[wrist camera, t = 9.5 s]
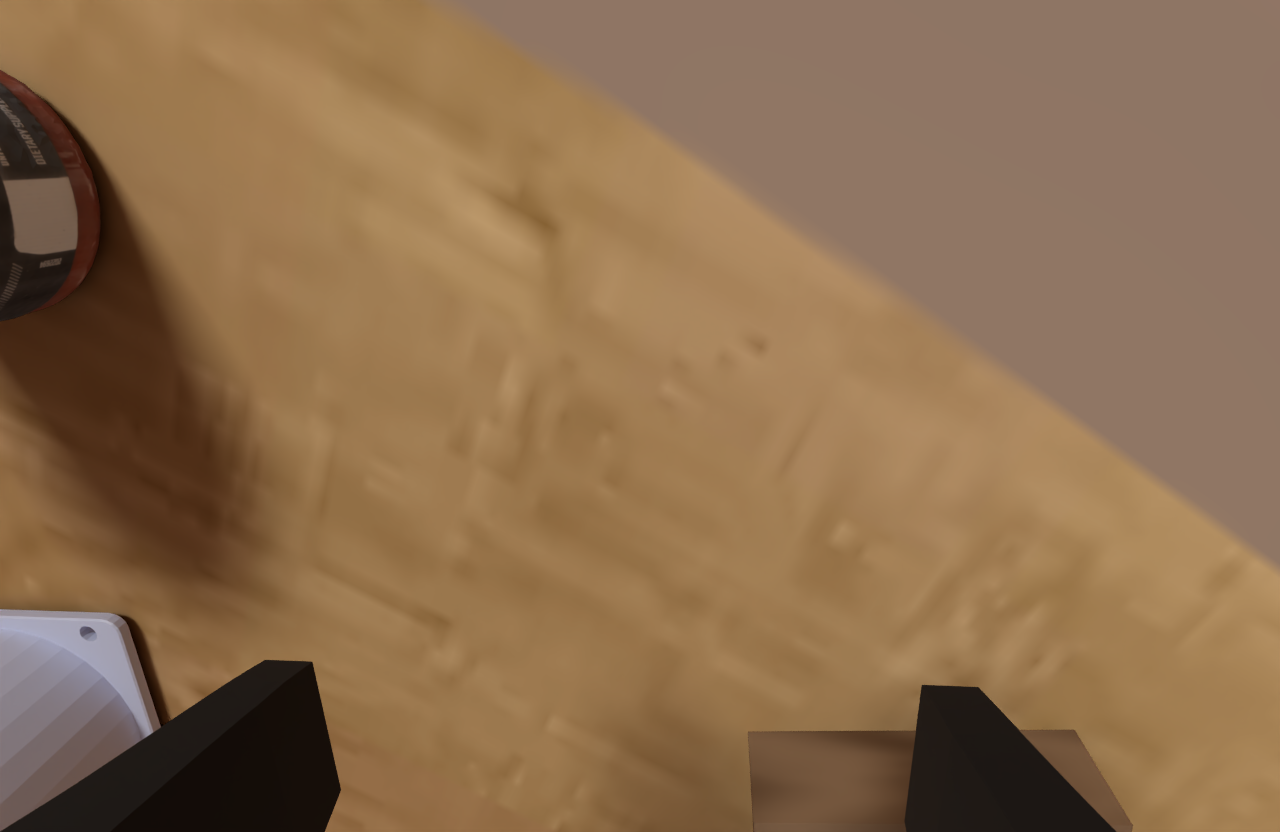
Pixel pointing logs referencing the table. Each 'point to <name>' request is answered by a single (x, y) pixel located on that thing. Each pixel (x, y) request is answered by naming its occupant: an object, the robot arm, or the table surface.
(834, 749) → the walnut block
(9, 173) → the supplement bottle
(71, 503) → the table surface
